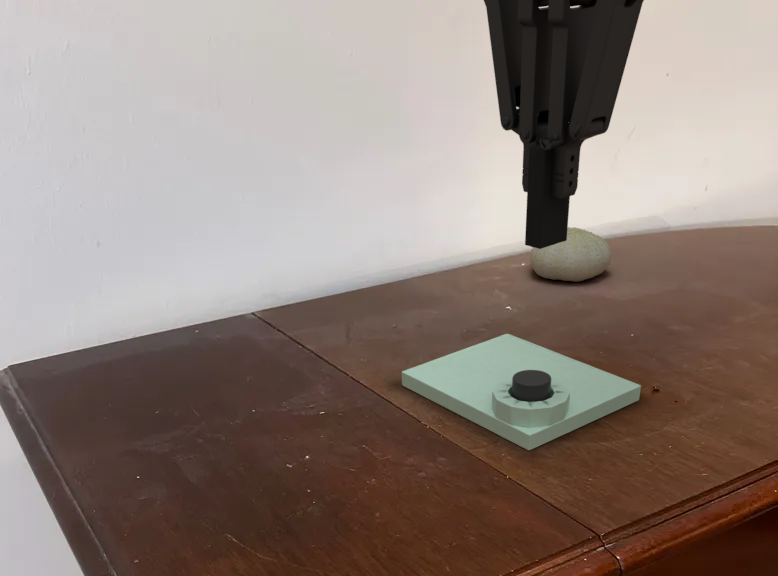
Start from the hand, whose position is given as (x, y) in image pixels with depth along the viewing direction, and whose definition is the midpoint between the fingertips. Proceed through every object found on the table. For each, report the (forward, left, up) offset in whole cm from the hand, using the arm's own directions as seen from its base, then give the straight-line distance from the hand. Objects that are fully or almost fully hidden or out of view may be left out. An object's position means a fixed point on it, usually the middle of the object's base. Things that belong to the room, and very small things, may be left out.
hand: (545, 242), depth 59 cm
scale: (+5, -2, -14) cm, 15 cm away
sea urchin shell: (+24, -29, -14) cm, 40 cm away
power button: (0, +1, -12) cm, 12 cm away
